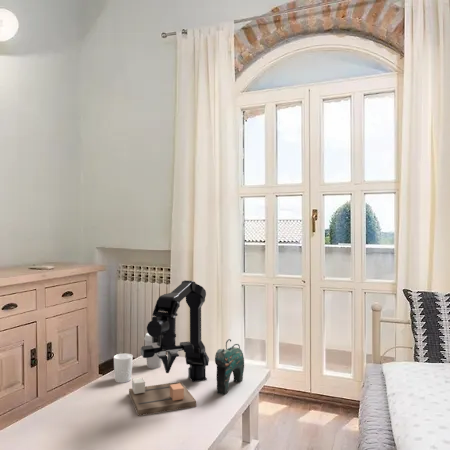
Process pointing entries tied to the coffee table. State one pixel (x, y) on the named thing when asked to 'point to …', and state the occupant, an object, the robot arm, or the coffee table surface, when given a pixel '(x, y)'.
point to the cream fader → (138, 385)
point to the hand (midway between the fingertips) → (167, 372)
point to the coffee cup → (155, 360)
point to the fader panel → (160, 399)
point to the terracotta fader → (176, 392)
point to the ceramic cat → (228, 367)
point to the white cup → (123, 367)
